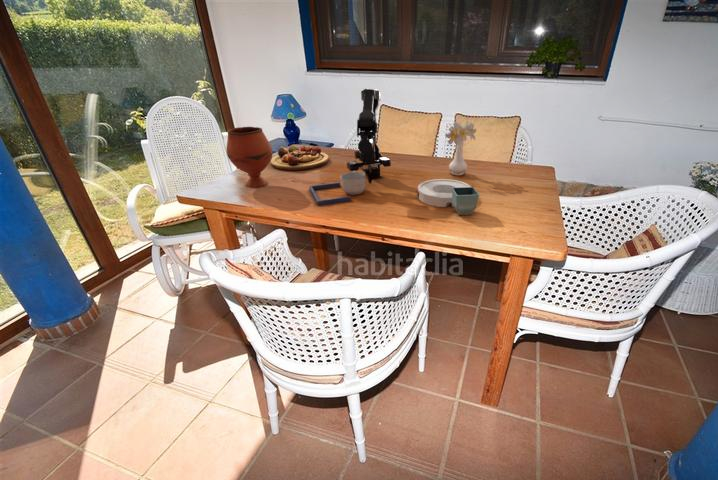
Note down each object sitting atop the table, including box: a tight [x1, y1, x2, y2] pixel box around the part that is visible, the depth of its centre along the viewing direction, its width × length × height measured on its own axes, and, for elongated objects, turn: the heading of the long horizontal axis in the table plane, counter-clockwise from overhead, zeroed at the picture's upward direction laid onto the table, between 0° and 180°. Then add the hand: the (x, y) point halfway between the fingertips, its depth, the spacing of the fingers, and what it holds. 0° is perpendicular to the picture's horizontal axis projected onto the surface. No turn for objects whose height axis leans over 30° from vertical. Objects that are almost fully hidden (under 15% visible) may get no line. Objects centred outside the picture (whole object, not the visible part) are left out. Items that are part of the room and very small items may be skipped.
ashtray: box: [417, 178, 472, 208], centre depth 154 cm, size 23×23×4 cm
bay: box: [308, 181, 352, 206], centre depth 157 cm, size 14×20×2 cm
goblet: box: [226, 126, 273, 188], centre depth 163 cm, size 19×19×25 cm
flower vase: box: [444, 119, 477, 176], centre depth 174 cm, size 13×18×25 cm
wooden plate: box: [269, 144, 330, 171], centre depth 197 cm, size 32×32×8 cm
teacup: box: [339, 170, 367, 196], centre depth 159 cm, size 14×11×8 cm
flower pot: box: [452, 186, 480, 216], centre depth 138 cm, size 9×9×9 cm
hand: (370, 182), depth 161 cm, fingers closed
